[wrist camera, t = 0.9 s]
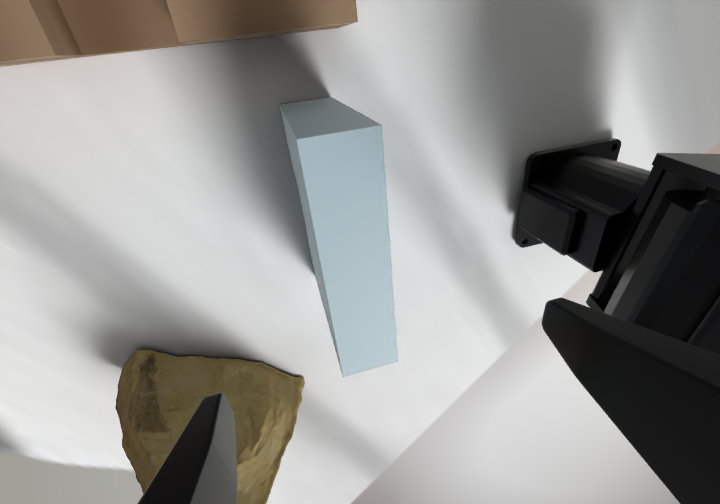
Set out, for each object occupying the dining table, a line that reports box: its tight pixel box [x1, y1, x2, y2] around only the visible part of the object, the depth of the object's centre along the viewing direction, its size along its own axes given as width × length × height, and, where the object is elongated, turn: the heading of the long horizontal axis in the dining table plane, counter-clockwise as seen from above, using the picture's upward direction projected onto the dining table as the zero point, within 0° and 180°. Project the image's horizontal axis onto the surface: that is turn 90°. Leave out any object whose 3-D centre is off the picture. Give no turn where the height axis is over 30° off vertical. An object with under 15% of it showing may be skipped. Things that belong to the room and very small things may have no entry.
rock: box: [116, 350, 305, 504], centre depth 21 cm, size 11×9×10 cm
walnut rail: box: [0, 0, 358, 66], centre depth 12 cm, size 16×2×4 cm, turn 96°
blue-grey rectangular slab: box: [279, 97, 398, 377], centre depth 16 cm, size 10×2×8 cm, turn 6°
